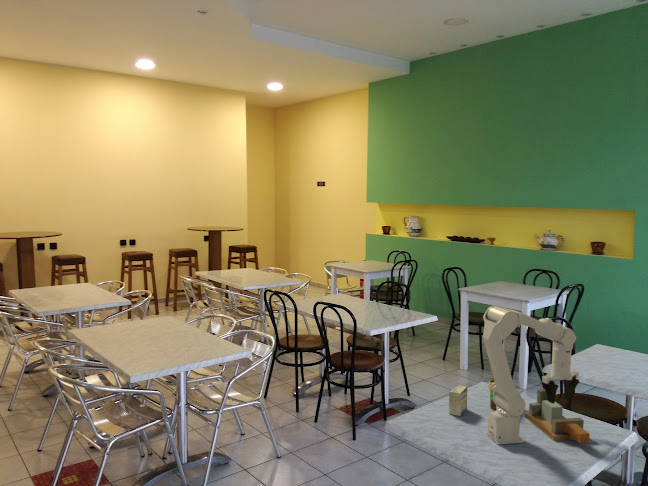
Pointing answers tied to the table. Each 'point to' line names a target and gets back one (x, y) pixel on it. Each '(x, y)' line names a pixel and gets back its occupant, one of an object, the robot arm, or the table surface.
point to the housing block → (551, 411)
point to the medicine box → (458, 400)
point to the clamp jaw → (571, 428)
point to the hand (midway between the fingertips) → (559, 400)
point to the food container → (490, 386)
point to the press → (538, 421)
